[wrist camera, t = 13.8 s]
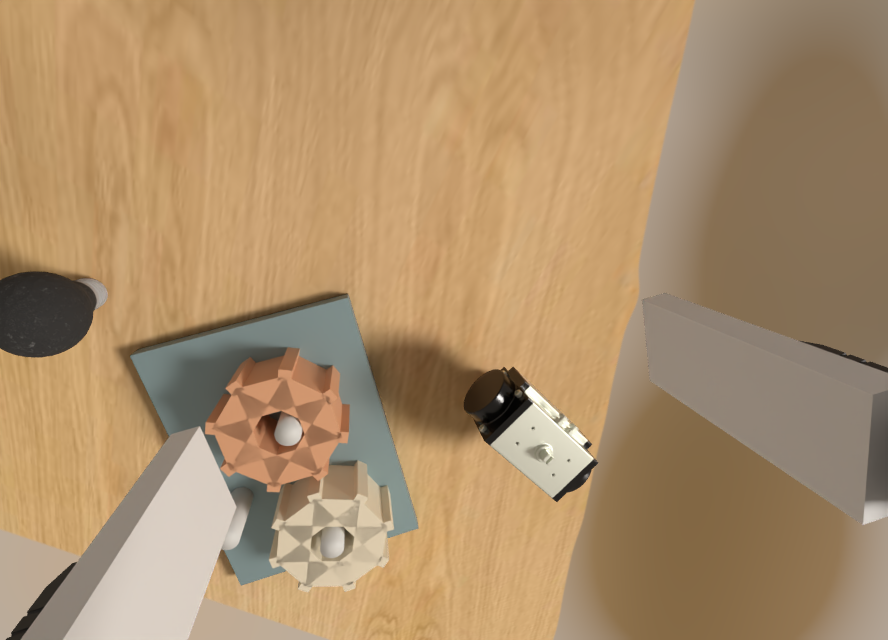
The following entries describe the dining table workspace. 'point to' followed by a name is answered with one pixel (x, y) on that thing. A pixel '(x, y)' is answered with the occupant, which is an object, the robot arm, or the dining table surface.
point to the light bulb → (46, 312)
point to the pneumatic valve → (529, 431)
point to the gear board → (261, 340)
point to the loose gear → (252, 429)
